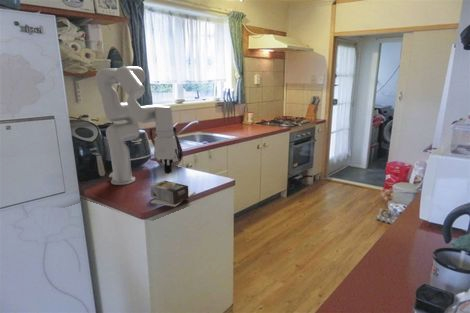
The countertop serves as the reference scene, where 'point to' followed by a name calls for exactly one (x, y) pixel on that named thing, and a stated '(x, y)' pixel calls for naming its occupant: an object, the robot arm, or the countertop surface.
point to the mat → (170, 203)
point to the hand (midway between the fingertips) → (168, 172)
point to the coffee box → (169, 192)
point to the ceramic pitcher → (180, 153)
